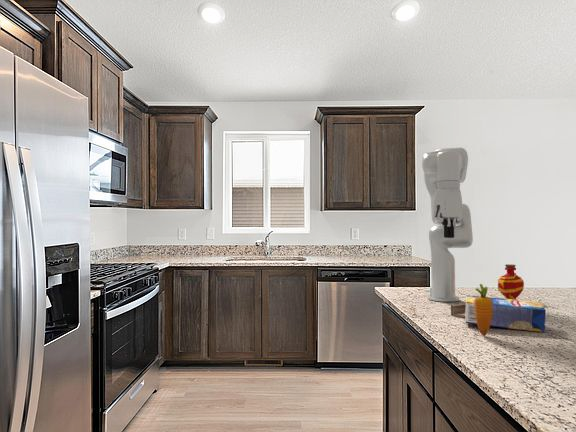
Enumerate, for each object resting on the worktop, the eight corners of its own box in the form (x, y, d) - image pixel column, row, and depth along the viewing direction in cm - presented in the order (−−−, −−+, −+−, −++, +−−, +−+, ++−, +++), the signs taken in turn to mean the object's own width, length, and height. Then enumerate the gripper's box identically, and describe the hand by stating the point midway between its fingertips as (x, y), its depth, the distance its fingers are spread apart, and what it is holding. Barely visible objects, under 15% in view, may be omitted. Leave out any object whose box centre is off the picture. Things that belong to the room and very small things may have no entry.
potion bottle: (528, 303, 177) (527, 266, 178) (501, 302, 180) (500, 265, 180) (520, 298, 188) (519, 263, 188) (494, 298, 190) (493, 263, 190)
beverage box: (465, 314, 150) (538, 323, 141) (465, 323, 139) (544, 332, 131) (466, 295, 149) (539, 302, 141) (466, 301, 139) (545, 310, 131)
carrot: (491, 339, 125) (491, 286, 125) (473, 336, 127) (472, 285, 128) (494, 335, 129) (493, 284, 129) (476, 333, 132) (475, 282, 132)
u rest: (450, 315, 156) (450, 305, 156) (481, 310, 164) (481, 301, 164) (492, 324, 141) (492, 314, 141) (524, 319, 149) (523, 309, 149)
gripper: (454, 186, 163) (455, 236, 163) (425, 186, 156) (425, 238, 156) (471, 185, 156) (472, 237, 156) (441, 185, 149) (442, 239, 150)
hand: (449, 237), depth 156 cm, fingers closed
